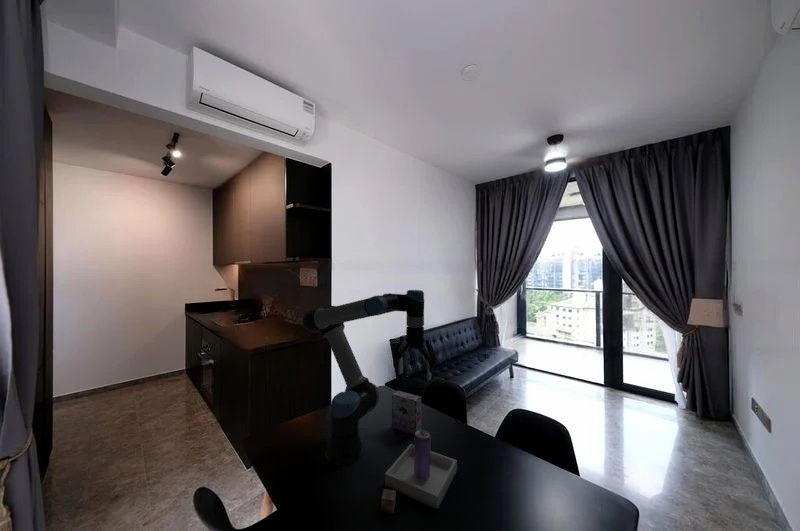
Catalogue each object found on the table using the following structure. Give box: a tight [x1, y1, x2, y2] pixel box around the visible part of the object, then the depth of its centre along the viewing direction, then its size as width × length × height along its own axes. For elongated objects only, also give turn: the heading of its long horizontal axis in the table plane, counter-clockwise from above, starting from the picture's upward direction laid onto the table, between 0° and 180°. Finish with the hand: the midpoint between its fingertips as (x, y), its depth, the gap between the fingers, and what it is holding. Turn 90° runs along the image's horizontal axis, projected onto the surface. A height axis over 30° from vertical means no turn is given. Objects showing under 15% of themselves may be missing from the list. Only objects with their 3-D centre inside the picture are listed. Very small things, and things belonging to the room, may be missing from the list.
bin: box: [384, 443, 458, 511], centre depth 100 cm, size 20×20×4 cm
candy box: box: [391, 390, 422, 437], centre depth 132 cm, size 14×6×16 cm, turn 58°
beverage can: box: [413, 429, 432, 480], centre depth 100 cm, size 6×6×15 cm
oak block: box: [380, 488, 397, 514], centre depth 88 cm, size 4×4×4 cm
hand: (414, 376), depth 116 cm, fingers open, 13 cm apart
